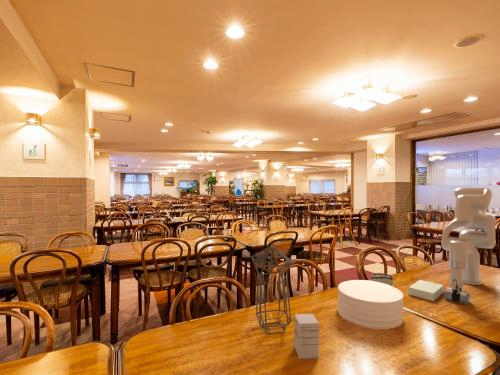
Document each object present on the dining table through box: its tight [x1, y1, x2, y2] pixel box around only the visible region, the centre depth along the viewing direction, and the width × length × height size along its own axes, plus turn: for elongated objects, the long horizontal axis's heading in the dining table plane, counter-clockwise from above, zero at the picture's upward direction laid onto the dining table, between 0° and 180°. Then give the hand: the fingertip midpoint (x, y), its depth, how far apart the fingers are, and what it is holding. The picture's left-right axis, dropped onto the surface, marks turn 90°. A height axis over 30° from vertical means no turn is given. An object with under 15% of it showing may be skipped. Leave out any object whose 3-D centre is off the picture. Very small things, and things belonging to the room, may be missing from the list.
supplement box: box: [293, 313, 320, 360], centre depth 104 cm, size 7×7×13 cm
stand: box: [408, 279, 444, 302], centre depth 160 cm, size 18×12×4 cm, turn 132°
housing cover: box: [445, 286, 469, 296], centre depth 150 cm, size 4×9×2 cm, turn 43°
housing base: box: [443, 289, 471, 305], centre depth 151 cm, size 5×10×4 cm, turn 43°
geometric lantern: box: [250, 245, 295, 335], centre depth 121 cm, size 16×16×35 cm
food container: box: [370, 272, 395, 286], centre depth 162 cm, size 12×6×10 cm, turn 84°
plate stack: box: [337, 279, 404, 330], centre depth 135 cm, size 28×28×12 cm
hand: (457, 298), depth 151 cm, fingers closed on housing base, 5 cm apart
